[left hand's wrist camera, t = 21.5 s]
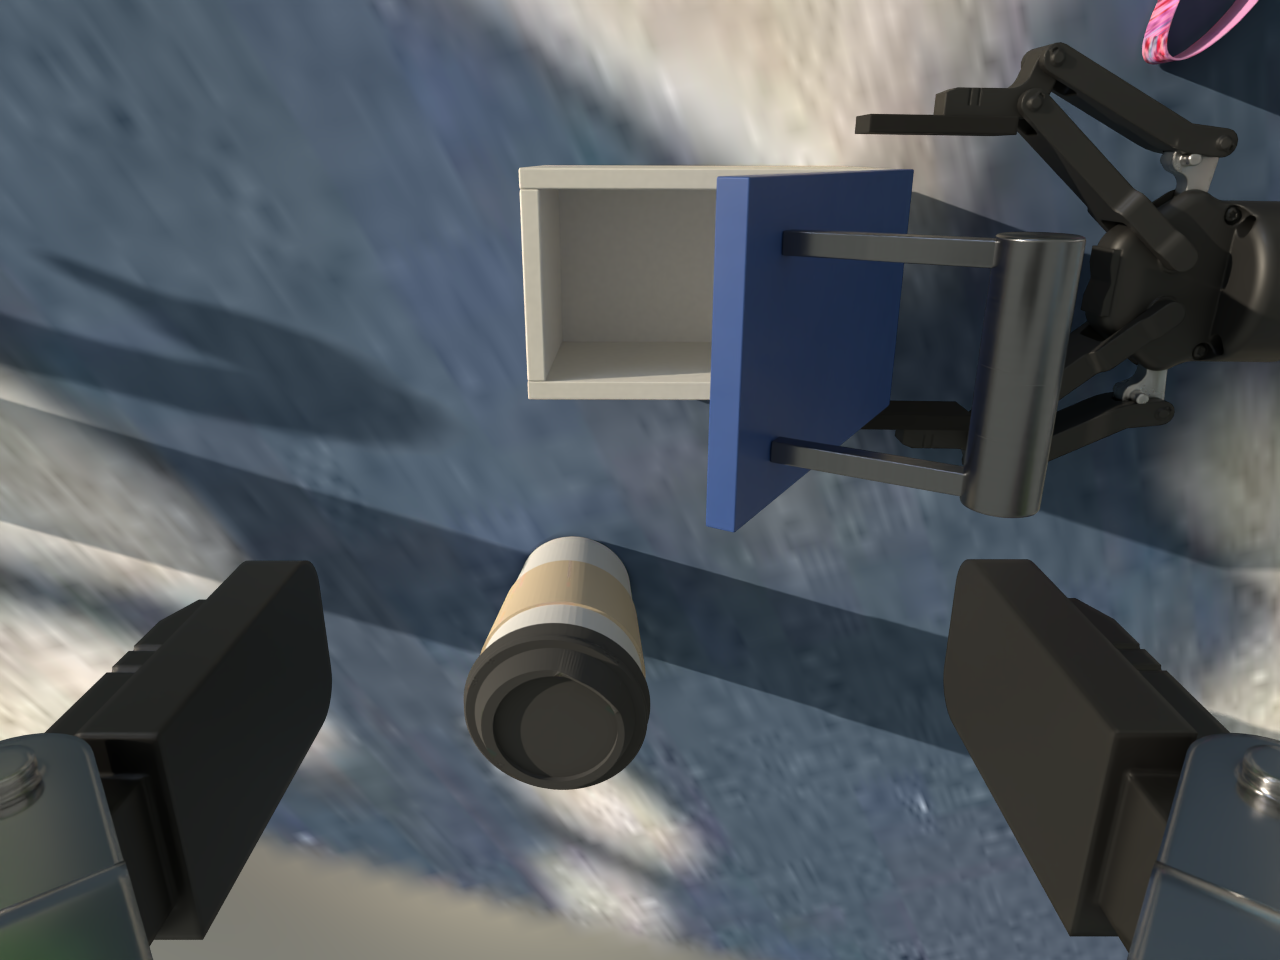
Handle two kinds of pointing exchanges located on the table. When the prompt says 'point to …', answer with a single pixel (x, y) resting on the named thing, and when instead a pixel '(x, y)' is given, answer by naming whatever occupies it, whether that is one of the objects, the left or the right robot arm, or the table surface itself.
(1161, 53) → the headband
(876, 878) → the table surface
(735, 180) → the lid
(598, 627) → the coffee cup
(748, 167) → the chest
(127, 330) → the table surface
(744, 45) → the table surface
